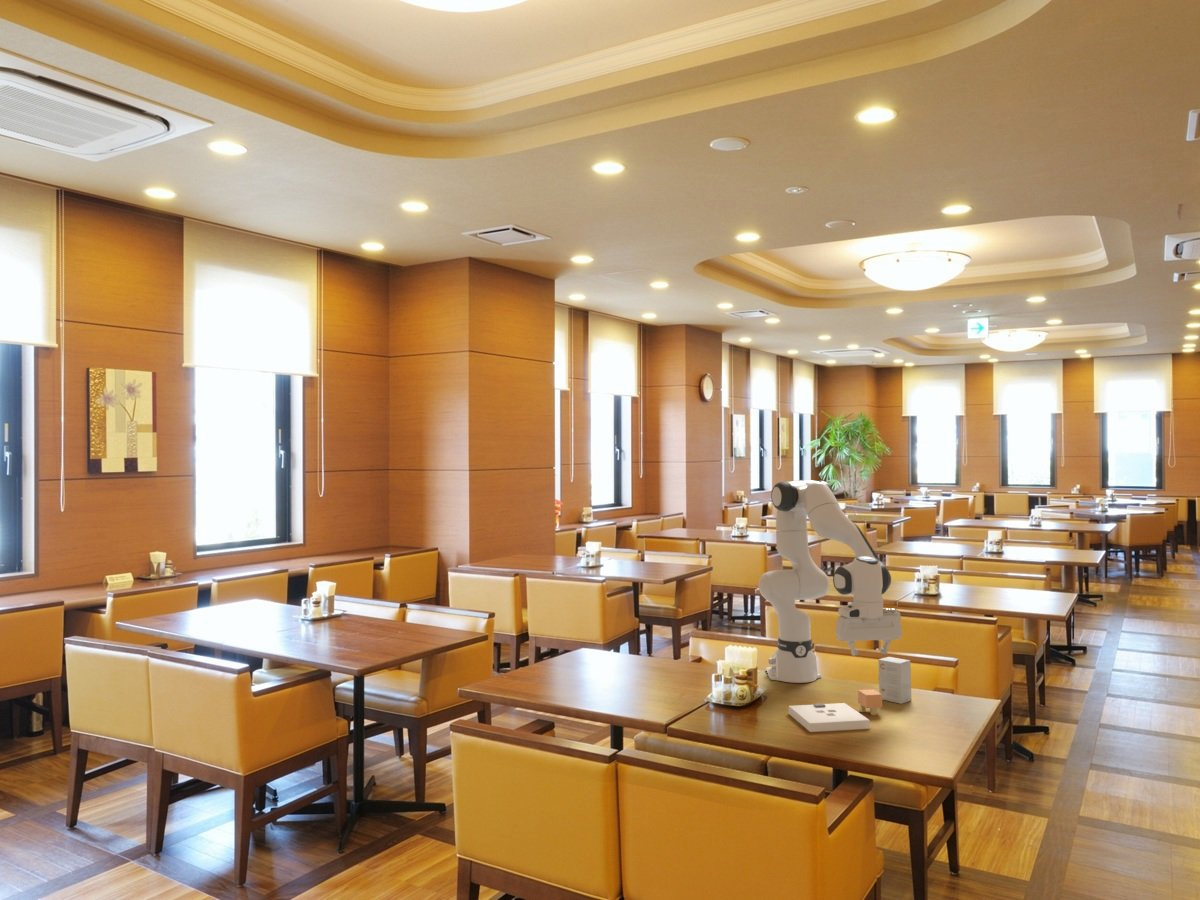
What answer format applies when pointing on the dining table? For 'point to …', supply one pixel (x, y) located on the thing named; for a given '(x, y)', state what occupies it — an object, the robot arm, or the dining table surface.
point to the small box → (895, 679)
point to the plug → (869, 700)
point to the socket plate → (828, 717)
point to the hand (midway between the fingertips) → (869, 654)
